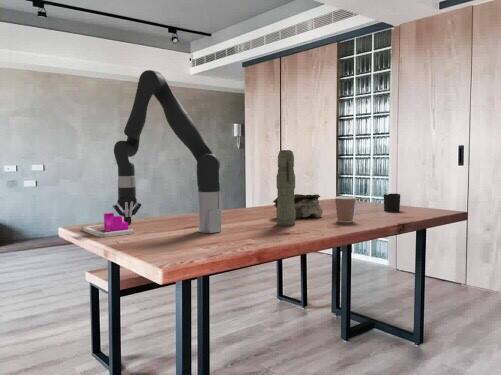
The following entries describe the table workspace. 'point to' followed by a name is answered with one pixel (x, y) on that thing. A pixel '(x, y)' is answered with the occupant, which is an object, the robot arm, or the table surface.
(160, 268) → the table surface
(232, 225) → the table surface
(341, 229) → the table surface
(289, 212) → the green stone statue
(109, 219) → the toy block
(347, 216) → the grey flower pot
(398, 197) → the pen holder
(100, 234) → the frame
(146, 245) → the table surface
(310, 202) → the hollow geode rock
